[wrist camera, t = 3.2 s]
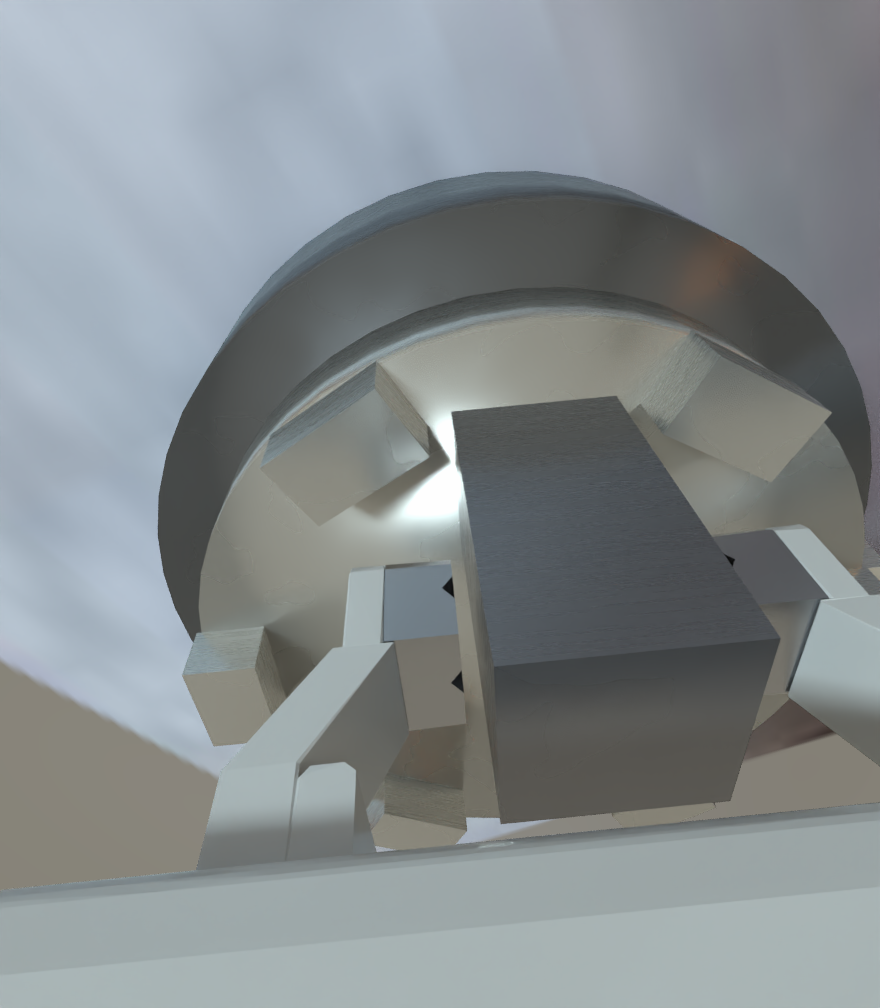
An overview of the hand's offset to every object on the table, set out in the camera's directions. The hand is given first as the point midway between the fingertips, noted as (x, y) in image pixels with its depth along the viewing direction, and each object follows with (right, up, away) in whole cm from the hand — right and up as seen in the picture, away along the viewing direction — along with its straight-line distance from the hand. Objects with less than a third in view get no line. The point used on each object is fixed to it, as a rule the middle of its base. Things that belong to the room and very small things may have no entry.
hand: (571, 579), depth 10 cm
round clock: (0, -1, +7) cm, 7 cm away
